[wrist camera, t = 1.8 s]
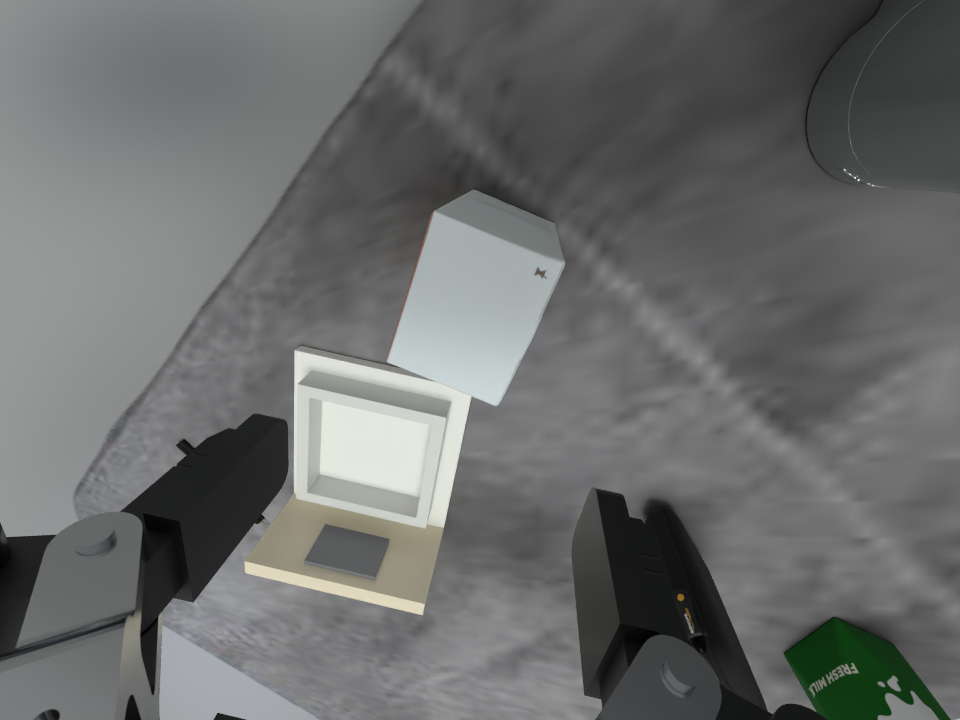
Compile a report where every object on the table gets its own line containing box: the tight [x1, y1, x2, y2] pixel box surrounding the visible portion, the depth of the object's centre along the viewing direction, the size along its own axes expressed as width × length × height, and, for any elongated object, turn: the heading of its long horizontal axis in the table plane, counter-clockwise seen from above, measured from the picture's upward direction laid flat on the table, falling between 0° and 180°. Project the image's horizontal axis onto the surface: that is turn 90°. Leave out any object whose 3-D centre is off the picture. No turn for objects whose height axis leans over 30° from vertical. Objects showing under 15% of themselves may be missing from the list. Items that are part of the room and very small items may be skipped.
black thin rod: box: [176, 439, 269, 529], centre depth 44 cm, size 12×1×1 cm, turn 33°
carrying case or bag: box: [645, 508, 768, 712], centre depth 34 cm, size 11×3×15 cm, turn 33°
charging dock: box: [245, 346, 472, 615], centre depth 36 cm, size 17×15×9 cm
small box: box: [386, 190, 565, 406], centre depth 26 cm, size 8×6×13 cm
